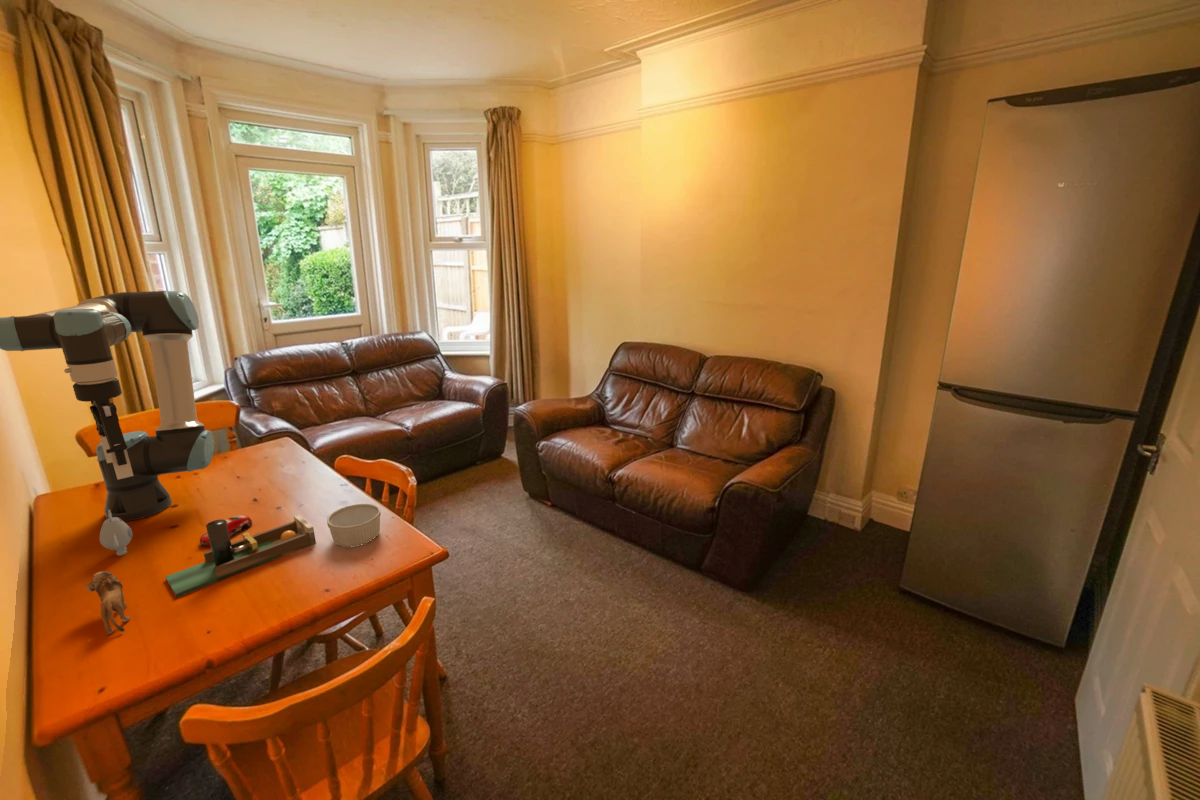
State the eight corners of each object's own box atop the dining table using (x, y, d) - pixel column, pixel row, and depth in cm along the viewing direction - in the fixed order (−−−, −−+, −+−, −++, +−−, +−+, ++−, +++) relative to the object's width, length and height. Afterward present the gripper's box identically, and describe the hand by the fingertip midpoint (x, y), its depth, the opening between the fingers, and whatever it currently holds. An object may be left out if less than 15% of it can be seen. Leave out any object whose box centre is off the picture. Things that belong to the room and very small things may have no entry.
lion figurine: (92, 610, 116) (80, 575, 113) (123, 598, 120) (113, 563, 117) (108, 640, 107) (96, 602, 104) (141, 626, 111) (131, 589, 109)
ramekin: (322, 537, 145) (318, 515, 143) (370, 520, 154) (367, 498, 152) (342, 556, 136) (339, 532, 134) (391, 536, 145) (389, 514, 143)
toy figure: (137, 557, 135) (125, 515, 132) (104, 566, 131) (91, 523, 128) (136, 540, 143) (125, 500, 139) (105, 548, 139) (93, 507, 135)
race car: (209, 550, 139) (206, 536, 138) (195, 546, 141) (192, 532, 140) (256, 525, 151) (253, 513, 150) (242, 522, 153) (240, 510, 151)
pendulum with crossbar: (211, 561, 131) (202, 521, 128) (250, 547, 137) (242, 509, 134) (219, 572, 127) (210, 531, 124) (260, 557, 133) (252, 518, 130)
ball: (282, 544, 142) (275, 534, 140) (295, 535, 144) (289, 525, 142) (287, 549, 140) (281, 539, 138) (301, 539, 142) (294, 530, 140)
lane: (166, 579, 126) (161, 561, 125) (301, 530, 148) (298, 514, 147) (176, 597, 120) (171, 578, 118) (316, 543, 142) (313, 526, 140)
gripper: (65, 374, 122) (90, 459, 128) (79, 394, 106) (107, 490, 112) (108, 368, 127) (130, 450, 133) (128, 387, 112) (152, 479, 118)
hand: (119, 469), depth 123 cm, fingers open, 13 cm apart
